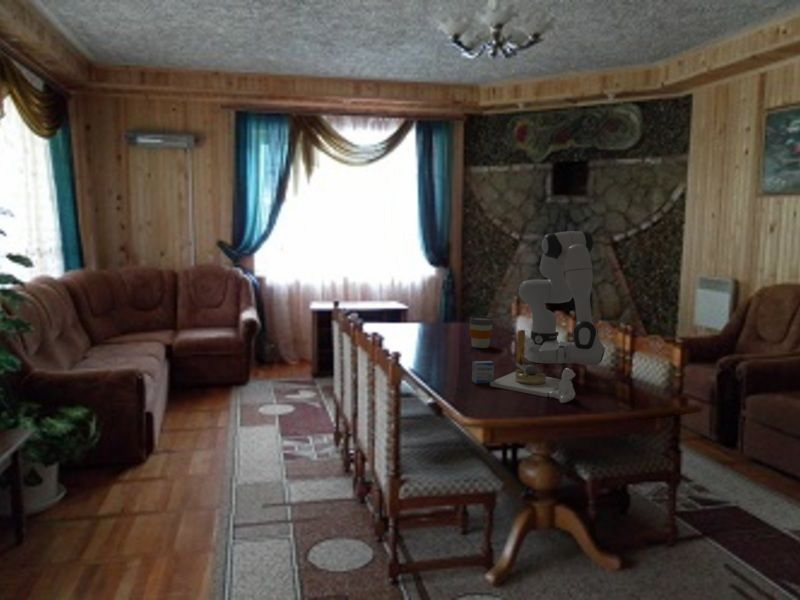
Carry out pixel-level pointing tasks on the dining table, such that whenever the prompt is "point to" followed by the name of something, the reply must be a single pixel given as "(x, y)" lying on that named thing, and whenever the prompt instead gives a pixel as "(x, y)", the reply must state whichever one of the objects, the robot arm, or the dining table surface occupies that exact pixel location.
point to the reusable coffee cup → (480, 331)
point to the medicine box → (482, 372)
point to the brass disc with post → (521, 373)
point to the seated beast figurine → (564, 387)
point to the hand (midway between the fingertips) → (529, 349)
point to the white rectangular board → (540, 390)
